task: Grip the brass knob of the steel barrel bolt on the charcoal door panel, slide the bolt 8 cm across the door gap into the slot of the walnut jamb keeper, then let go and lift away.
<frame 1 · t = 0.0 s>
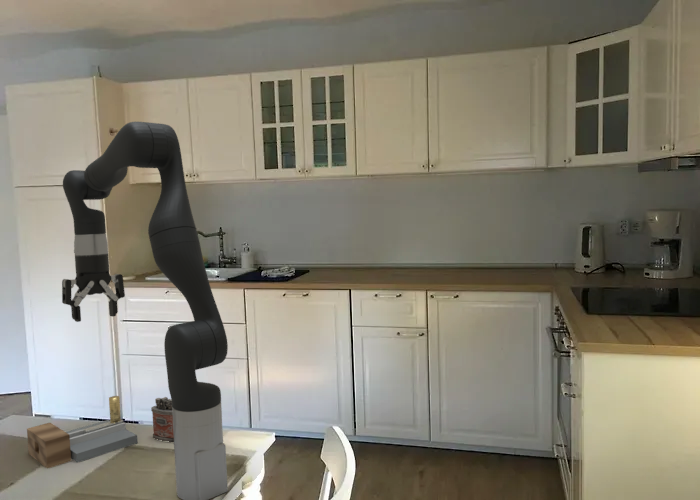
hand: (95, 318, 142), 29 cm above the table, fingers open, 8 cm apart
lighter: (167, 439, 140), on the table
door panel: (85, 446, 137), on the table
jamb keeper: (48, 444, 131), on the table
bolt: (102, 415, 140), point 6 cm above the table, slide at 0.0 cm
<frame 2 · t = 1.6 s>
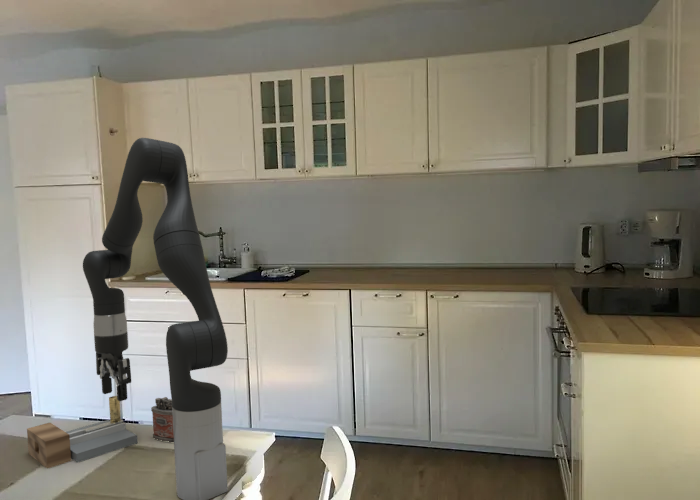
hand: (114, 396, 142), 10 cm above the table, fingers open, 8 cm apart
nothing on the table moved.
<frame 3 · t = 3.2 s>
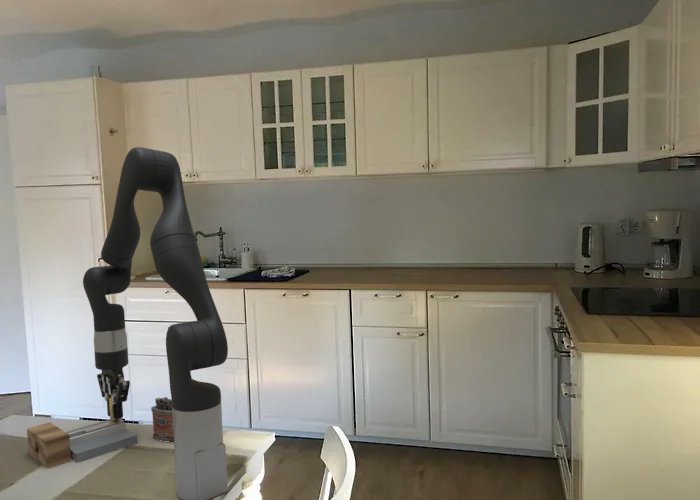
hand: (115, 416, 142), 5 cm above the table, fingers closed on bolt, 2 cm apart
bolt: (102, 415, 140), point 6 cm above the table, slide at 0.0 cm, touching gripper
everything else where it was.
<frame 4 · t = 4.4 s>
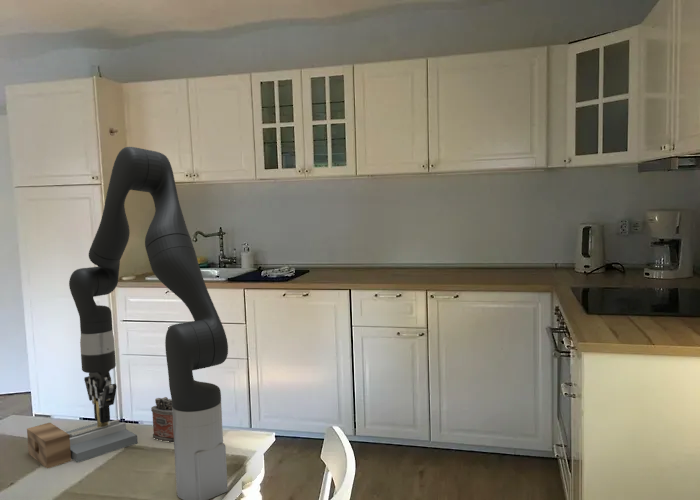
hand: (102, 420, 140), 5 cm above the table, fingers closed on bolt, 2 cm apart
bolt: (89, 419, 138), point 6 cm above the table, slide at 3.2 cm, touching gripper
everything else where it was.
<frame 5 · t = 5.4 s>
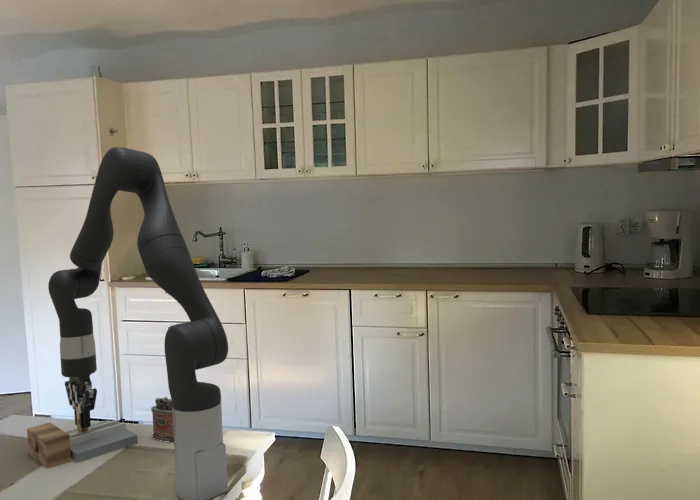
hand: (82, 425, 137), 5 cm above the table, fingers closed on bolt, 2 cm apart
bolt: (69, 425, 135), point 6 cm above the table, slide at 7.8 cm, touching gripper
everything else where it was.
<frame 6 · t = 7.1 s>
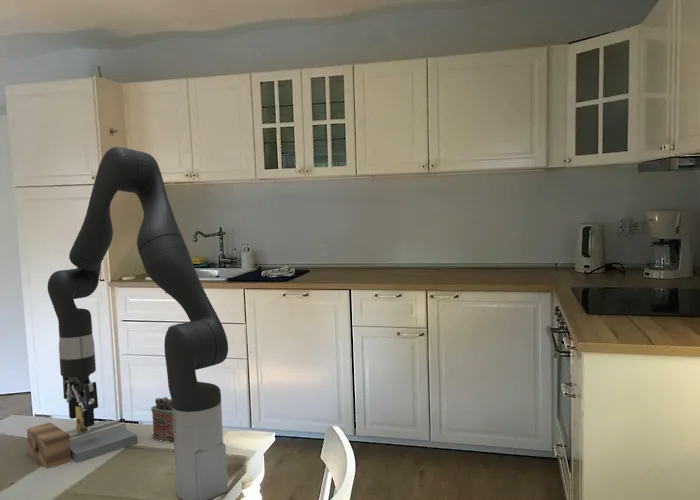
hand: (81, 421, 137), 6 cm above the table, fingers open, 8 cm apart
bolt: (68, 425, 134), point 6 cm above the table, slide at 7.9 cm
everything else where it was.
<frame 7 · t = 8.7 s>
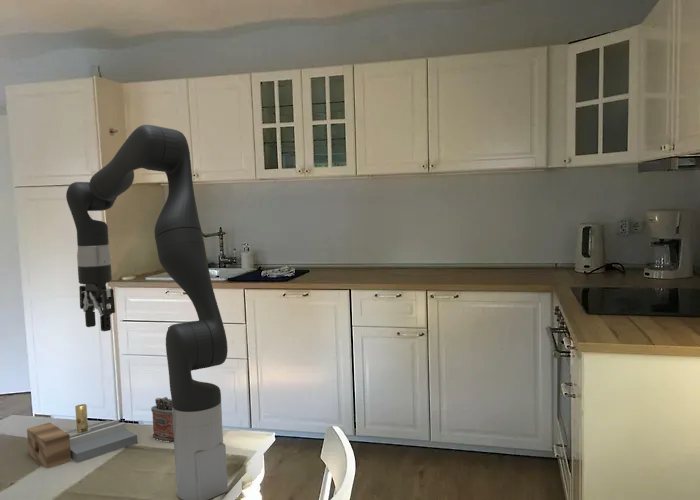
hand: (98, 328, 144), 27 cm above the table, fingers open, 8 cm apart
nothing on the table moved.
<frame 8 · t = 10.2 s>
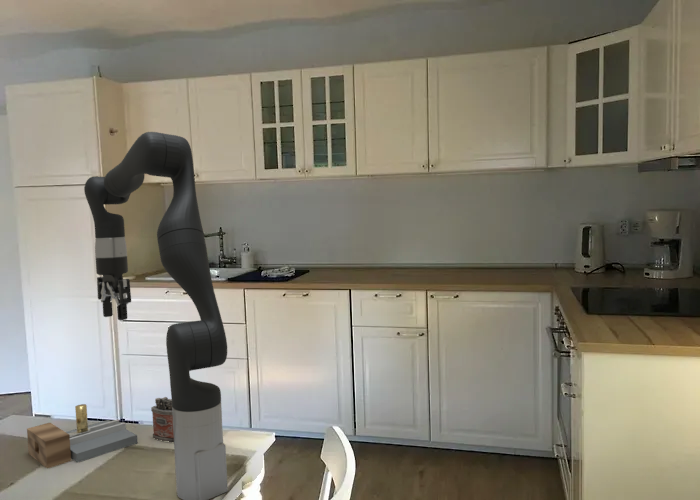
hand: (115, 318, 149), 28 cm above the table, fingers open, 8 cm apart
nothing on the table moved.
at the end: bolt slide at 7.9 cm; the gripper is holding nothing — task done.
